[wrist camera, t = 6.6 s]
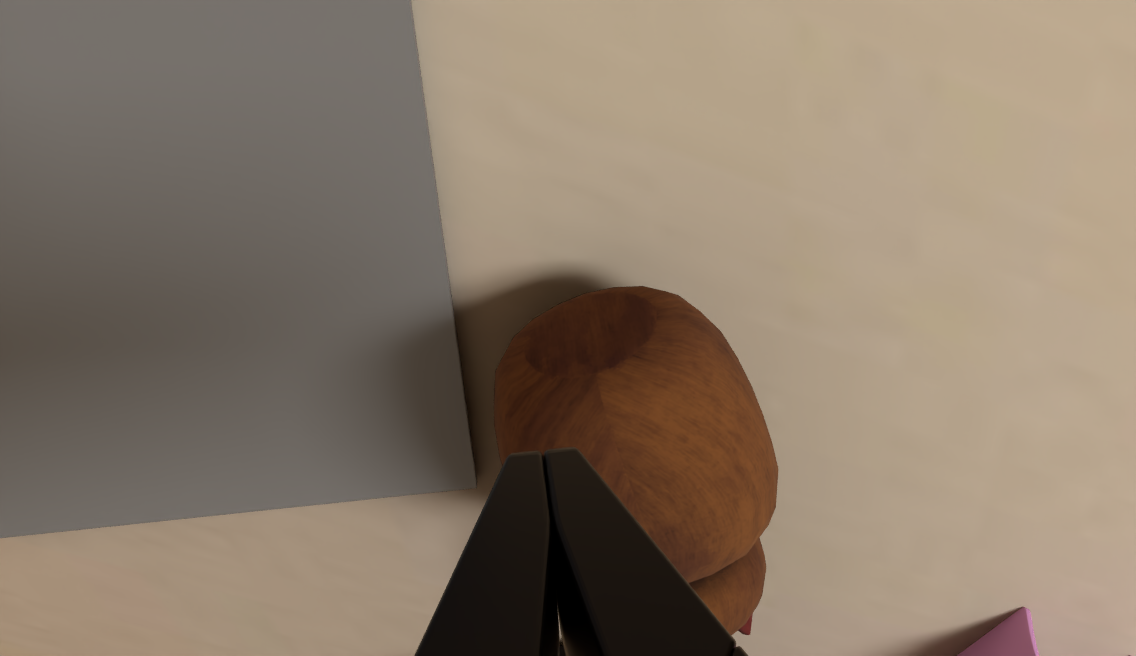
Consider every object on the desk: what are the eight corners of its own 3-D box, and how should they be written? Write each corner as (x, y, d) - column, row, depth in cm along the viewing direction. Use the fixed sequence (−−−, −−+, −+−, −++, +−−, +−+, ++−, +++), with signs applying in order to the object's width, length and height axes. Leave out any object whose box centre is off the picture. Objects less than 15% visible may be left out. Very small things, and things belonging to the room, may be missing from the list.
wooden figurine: (457, 303, 20) (612, 604, 29) (442, 466, 15) (632, 766, 24) (707, 225, 19) (788, 561, 28) (772, 374, 14) (844, 720, 23)
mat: (476, 478, 23) (476, 487, 23) (2, 528, 22) (-4, 538, 22) (354, -405, 12) (351, -412, 12) (-586, -390, 11) (-618, -396, 11)
